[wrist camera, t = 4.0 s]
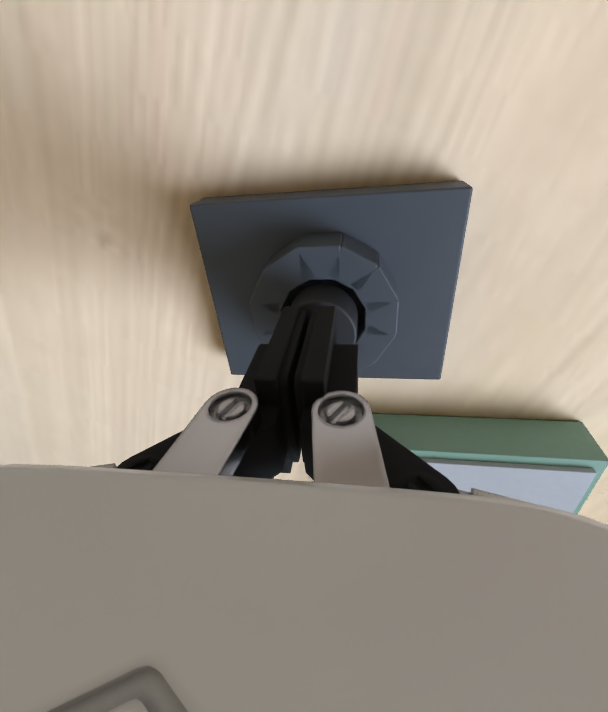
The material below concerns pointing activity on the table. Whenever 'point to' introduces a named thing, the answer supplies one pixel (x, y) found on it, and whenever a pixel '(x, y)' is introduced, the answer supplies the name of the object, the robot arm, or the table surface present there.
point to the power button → (332, 297)
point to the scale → (505, 455)
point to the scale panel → (340, 266)
